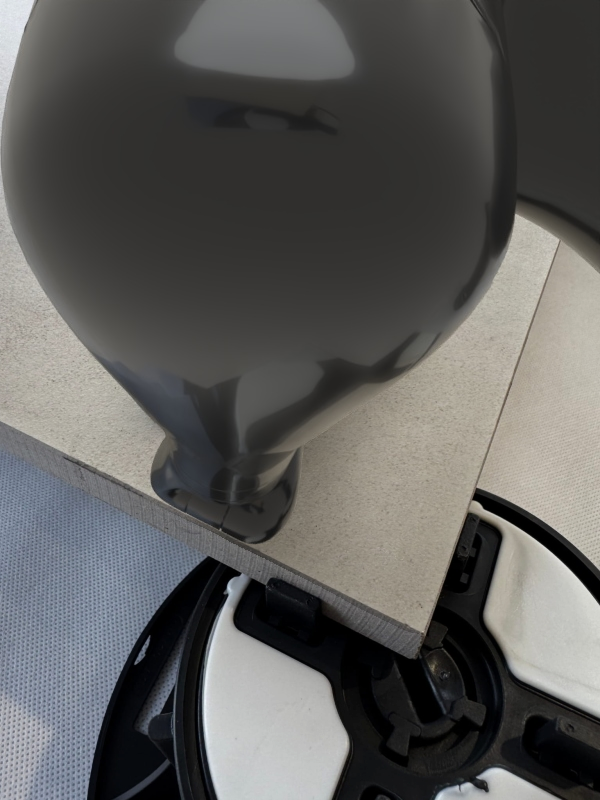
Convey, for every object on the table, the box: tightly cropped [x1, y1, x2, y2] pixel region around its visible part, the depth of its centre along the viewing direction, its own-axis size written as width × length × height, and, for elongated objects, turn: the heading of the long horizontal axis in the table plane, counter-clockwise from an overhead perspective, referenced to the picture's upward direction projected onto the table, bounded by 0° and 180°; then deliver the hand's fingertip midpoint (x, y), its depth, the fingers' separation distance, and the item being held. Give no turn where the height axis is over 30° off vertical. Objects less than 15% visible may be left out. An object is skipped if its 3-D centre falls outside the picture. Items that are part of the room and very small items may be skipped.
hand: (364, 236), depth 61 cm, fingers open, 8 cm apart
